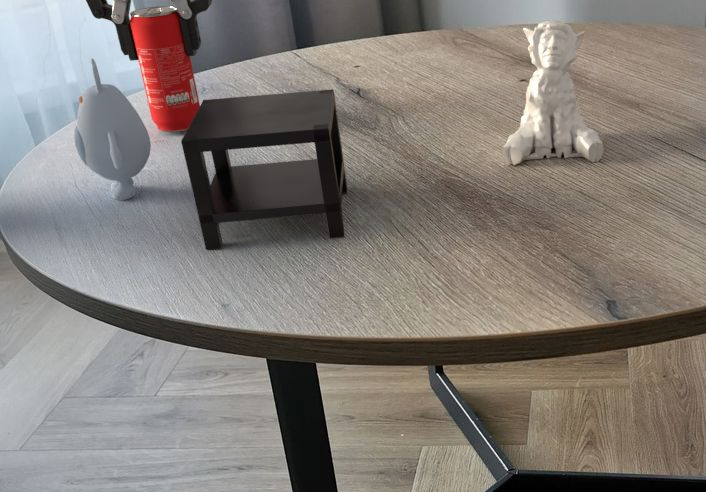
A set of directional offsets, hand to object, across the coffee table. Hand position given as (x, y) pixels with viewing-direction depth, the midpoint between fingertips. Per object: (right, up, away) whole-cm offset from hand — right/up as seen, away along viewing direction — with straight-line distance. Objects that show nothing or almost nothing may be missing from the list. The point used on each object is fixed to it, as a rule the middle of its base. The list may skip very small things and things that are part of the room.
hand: (163, 55), depth 100 cm
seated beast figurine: (+40, -12, -8) cm, 43 cm away
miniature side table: (+17, -19, -19) cm, 32 cm away
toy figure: (+1, -17, -12) cm, 21 cm away
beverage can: (0, -7, +4) cm, 8 cm away
